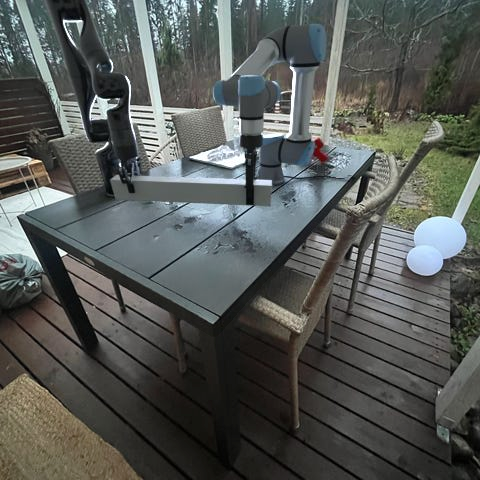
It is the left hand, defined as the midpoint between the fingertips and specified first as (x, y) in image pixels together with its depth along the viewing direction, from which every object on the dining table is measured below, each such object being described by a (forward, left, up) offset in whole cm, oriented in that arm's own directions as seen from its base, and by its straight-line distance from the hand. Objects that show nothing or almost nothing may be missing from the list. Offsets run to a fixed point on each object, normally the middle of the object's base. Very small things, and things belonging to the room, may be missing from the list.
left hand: (135, 189), depth 100 cm
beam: (+14, +16, -3) cm, 22 cm away
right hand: (+28, +32, -3) cm, 43 cm away
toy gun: (-14, +112, -13) cm, 114 cm away
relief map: (-53, +72, -13) cm, 91 cm away
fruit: (-42, +138, -13) cm, 145 cm away
